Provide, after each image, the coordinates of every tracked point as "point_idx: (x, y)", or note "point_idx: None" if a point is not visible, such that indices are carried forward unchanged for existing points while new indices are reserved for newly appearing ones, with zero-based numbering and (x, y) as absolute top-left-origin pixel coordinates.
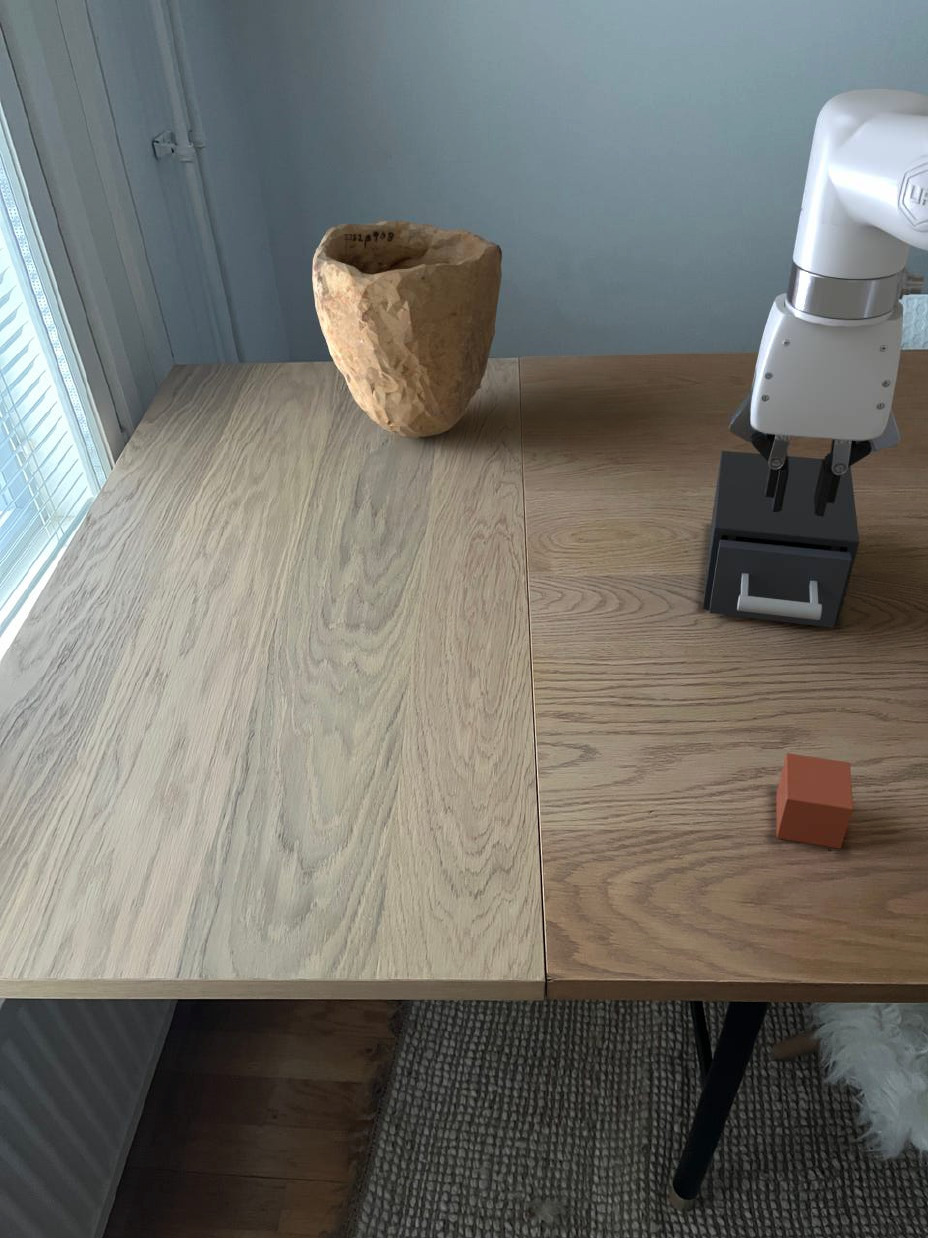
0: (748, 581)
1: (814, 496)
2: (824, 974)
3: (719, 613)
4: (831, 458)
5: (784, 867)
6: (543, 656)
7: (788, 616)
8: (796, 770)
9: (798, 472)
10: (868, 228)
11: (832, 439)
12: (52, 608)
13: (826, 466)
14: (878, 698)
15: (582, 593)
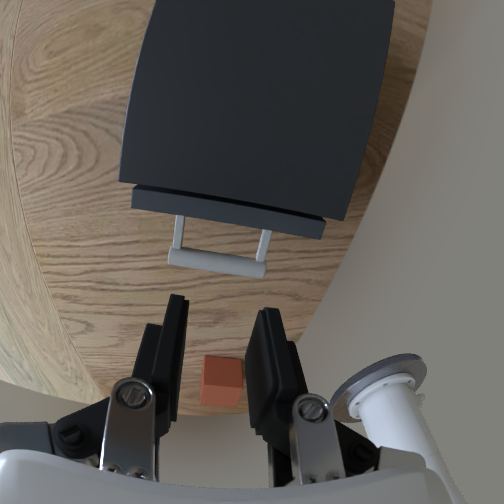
0: (184, 218)
1: (257, 322)
2: (214, 414)
3: None
4: (276, 440)
5: None
6: (37, 238)
7: None
8: (208, 392)
9: (306, 5)
10: None
11: (291, 457)
12: None
13: (263, 429)
14: (302, 279)
15: (48, 145)
